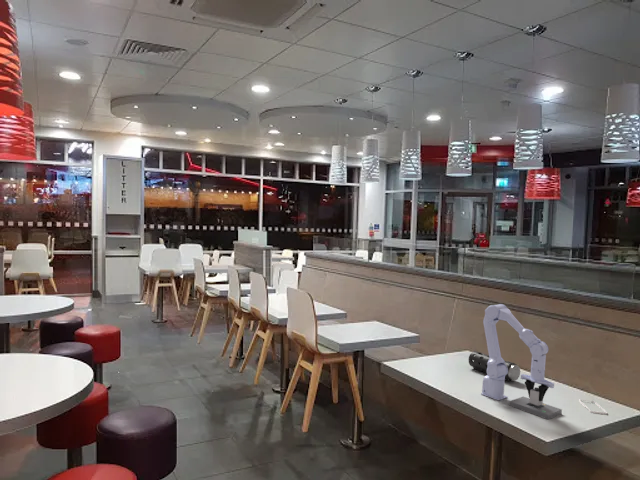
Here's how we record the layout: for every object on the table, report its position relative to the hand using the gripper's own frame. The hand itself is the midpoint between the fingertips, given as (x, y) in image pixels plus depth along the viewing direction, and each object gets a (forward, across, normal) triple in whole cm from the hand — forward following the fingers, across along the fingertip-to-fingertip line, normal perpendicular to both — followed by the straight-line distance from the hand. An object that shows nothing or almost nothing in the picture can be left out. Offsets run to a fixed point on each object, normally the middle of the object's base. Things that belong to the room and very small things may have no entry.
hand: (535, 399), depth 215 cm
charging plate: (+5, 0, 0) cm, 5 cm away
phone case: (+6, +13, +28) cm, 31 cm away
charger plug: (+2, 0, 0) cm, 2 cm away
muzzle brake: (+5, -39, +29) cm, 49 cm away
